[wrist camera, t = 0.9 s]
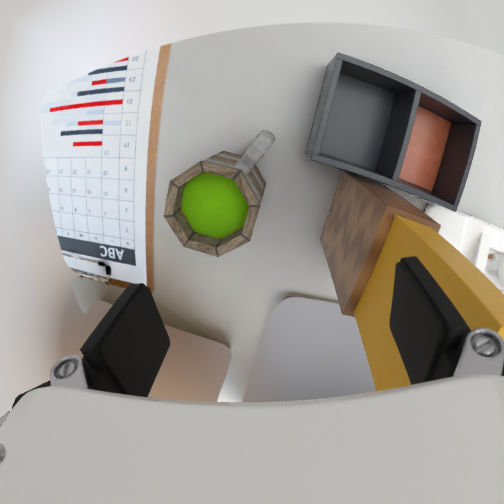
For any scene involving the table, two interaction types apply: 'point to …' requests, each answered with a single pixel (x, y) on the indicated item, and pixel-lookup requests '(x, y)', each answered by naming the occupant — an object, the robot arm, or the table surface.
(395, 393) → the robot arm
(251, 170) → the mug
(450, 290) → the yellow box
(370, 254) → the tan rectangular block
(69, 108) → the table surface
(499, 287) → the tape dispenser
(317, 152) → the caddy
